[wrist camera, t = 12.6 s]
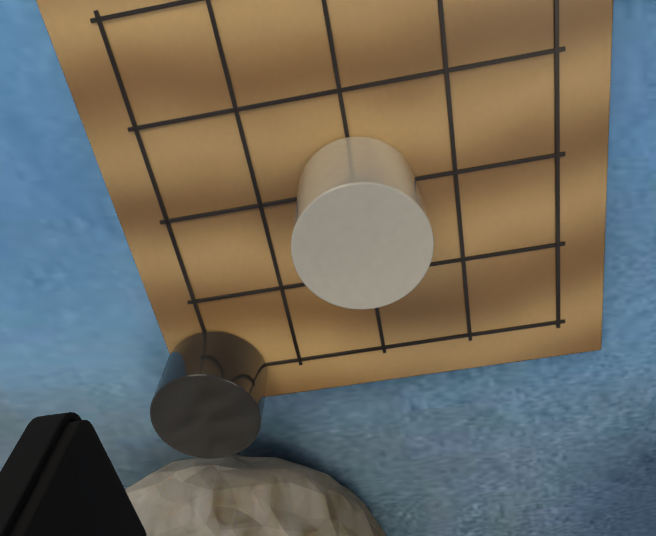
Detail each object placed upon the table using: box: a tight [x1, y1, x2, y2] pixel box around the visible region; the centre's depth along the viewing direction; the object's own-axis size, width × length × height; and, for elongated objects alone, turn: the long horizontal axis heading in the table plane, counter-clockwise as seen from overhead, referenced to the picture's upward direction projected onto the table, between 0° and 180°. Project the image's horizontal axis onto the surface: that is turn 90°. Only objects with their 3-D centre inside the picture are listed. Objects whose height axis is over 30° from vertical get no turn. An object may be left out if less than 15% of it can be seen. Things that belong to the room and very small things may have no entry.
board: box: [36, 0, 613, 397], centre depth 26 cm, size 20×20×2 cm
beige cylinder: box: [291, 137, 434, 310], centre depth 23 cm, size 5×5×5 cm
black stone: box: [150, 331, 268, 459], centre depth 28 cm, size 5×5×3 cm
